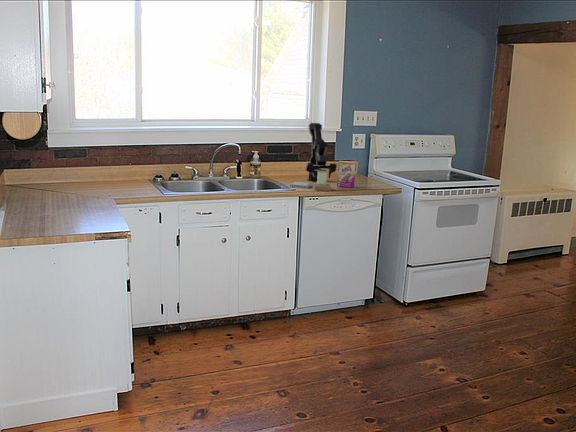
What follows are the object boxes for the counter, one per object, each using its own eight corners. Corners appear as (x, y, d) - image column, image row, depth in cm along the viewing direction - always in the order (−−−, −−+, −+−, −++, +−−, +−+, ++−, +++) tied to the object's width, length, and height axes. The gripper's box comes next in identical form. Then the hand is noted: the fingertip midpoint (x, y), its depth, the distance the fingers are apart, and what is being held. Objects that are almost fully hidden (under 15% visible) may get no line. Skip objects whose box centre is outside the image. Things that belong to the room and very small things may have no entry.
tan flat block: (312, 188, 368) (312, 183, 368) (328, 188, 369) (328, 183, 369) (314, 190, 360) (314, 185, 360) (330, 190, 362) (330, 186, 361)
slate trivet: (295, 183, 382) (296, 181, 381) (313, 185, 378) (313, 183, 378) (290, 186, 370) (290, 184, 370) (308, 188, 367) (308, 186, 366)
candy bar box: (336, 186, 378) (338, 161, 374) (337, 185, 382) (338, 160, 379) (354, 187, 377) (356, 162, 373) (354, 186, 381) (356, 161, 378)
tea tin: (316, 183, 367) (317, 169, 365) (325, 183, 368) (325, 169, 366) (317, 184, 363) (318, 170, 361) (326, 185, 364) (326, 170, 362)
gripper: (307, 149, 364) (309, 169, 356) (337, 150, 366) (339, 170, 358) (305, 160, 373) (306, 180, 365) (334, 161, 375) (336, 181, 367)
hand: (322, 178), depth 363 cm, fingers open, 9 cm apart
